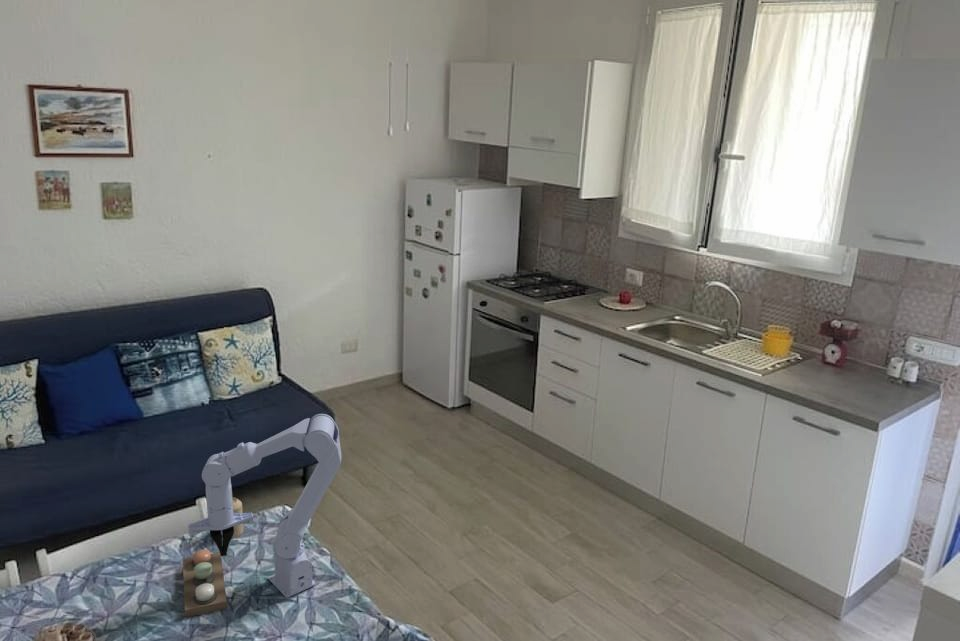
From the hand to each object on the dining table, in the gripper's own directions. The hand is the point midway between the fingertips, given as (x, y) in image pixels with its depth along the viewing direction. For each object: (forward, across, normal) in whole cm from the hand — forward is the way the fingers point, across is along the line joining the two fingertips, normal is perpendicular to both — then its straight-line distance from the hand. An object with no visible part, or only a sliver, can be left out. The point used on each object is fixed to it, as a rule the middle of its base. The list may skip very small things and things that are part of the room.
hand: (223, 553), depth 173 cm
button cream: (+6, +5, +7) cm, 10 cm away
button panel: (+8, +5, 0) cm, 10 cm away
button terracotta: (+6, +5, -7) cm, 10 cm away
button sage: (+5, +5, 0) cm, 7 cm away
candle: (+9, -4, -21) cm, 23 cm away
